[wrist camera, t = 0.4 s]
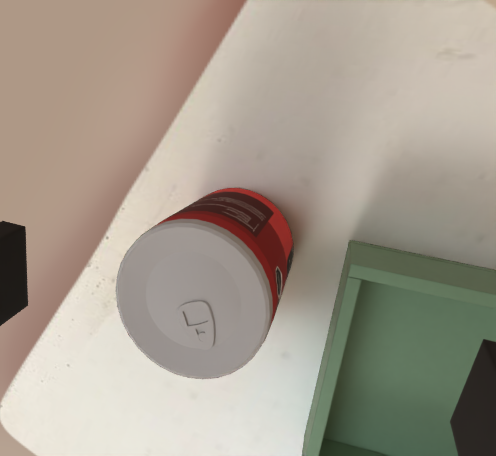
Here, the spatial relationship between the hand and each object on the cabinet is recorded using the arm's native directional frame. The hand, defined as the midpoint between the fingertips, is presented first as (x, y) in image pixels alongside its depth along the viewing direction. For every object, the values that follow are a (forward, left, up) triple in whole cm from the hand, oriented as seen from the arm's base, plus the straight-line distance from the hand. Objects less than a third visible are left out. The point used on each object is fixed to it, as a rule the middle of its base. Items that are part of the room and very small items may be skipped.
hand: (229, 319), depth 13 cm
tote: (+10, +12, -19) cm, 24 cm away
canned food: (+4, -3, -19) cm, 19 cm away
